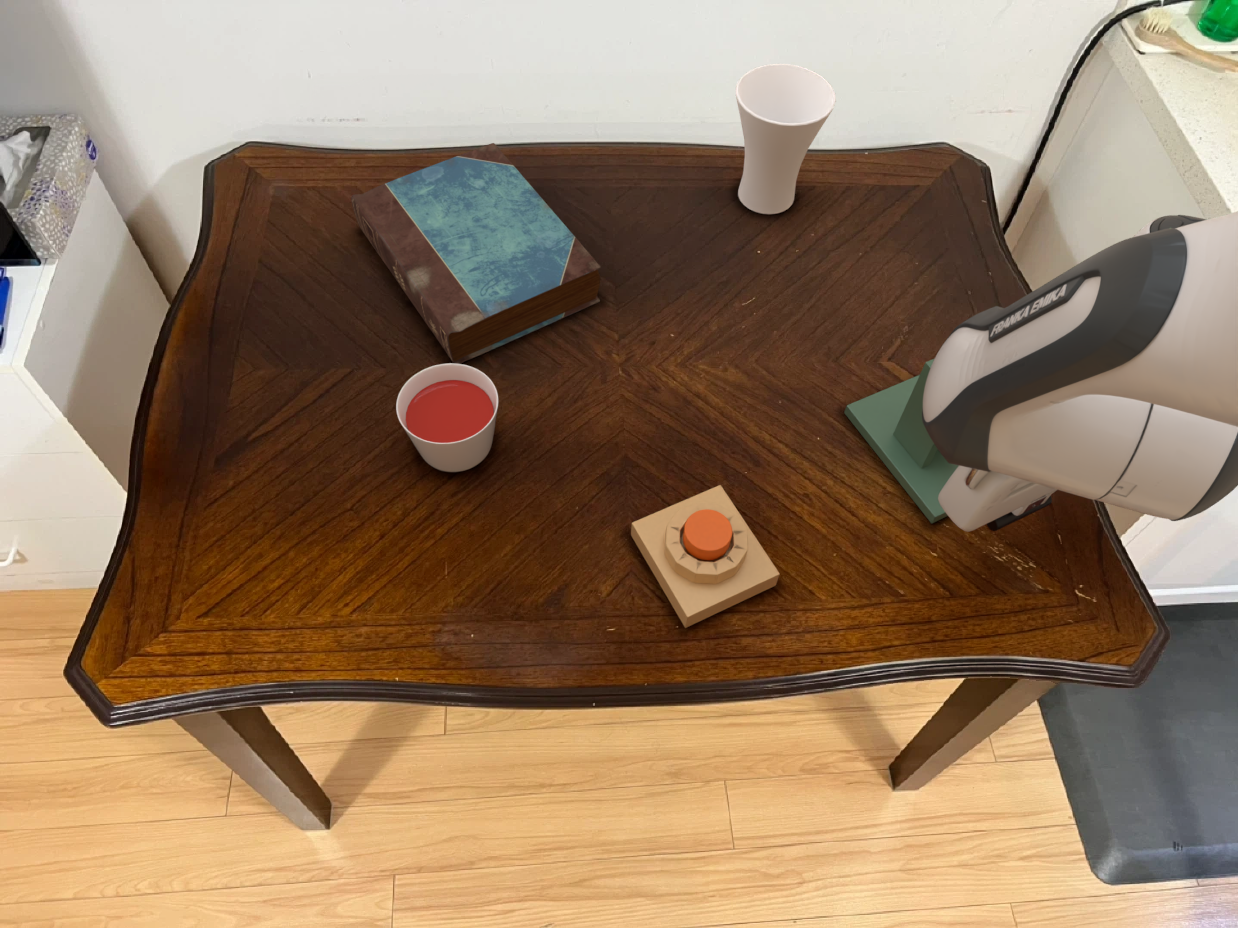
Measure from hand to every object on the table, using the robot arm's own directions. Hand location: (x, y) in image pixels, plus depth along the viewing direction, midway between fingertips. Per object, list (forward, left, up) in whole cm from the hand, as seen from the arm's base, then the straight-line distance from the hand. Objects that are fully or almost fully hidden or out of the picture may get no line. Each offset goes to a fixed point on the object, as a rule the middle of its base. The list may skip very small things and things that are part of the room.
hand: (1022, 503), depth 80 cm
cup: (+48, -5, -6) cm, 49 cm away
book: (+52, +29, -6) cm, 60 cm away
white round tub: (+31, +40, -6) cm, 51 cm away
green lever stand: (+11, 0, -6) cm, 12 cm away
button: (+10, +25, -2) cm, 27 cm away
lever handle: (+6, 0, +1) cm, 6 cm away
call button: (+10, +25, -6) cm, 28 cm away
